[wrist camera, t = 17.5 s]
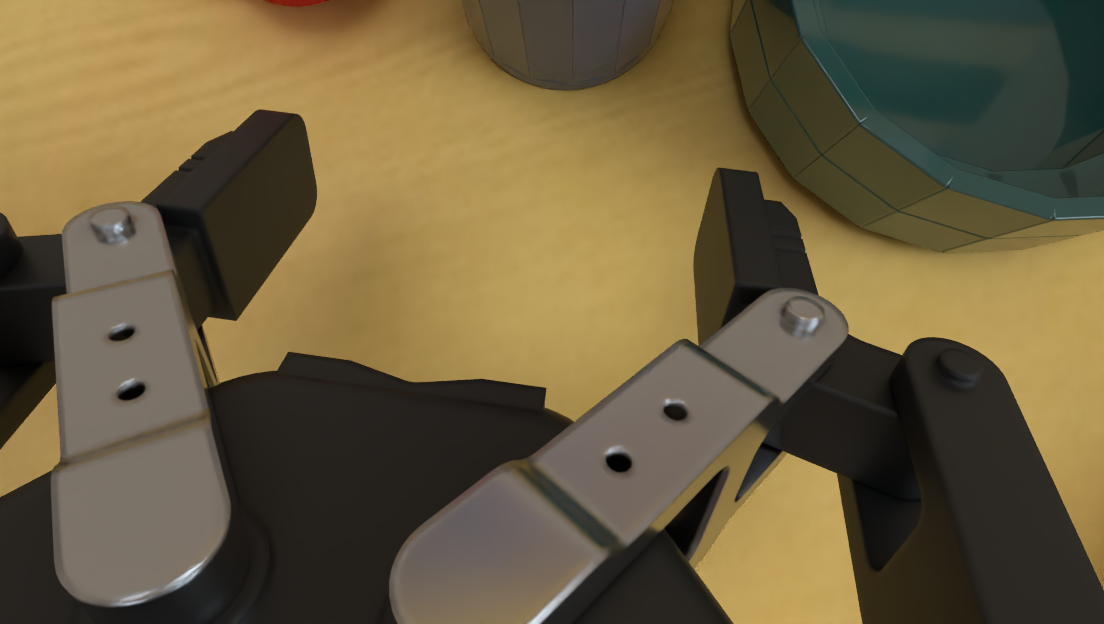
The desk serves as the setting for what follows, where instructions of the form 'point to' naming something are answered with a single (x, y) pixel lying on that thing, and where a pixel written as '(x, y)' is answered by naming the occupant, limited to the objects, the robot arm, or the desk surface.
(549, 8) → the pencil cup
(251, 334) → the desk surface
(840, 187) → the bowl
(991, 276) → the desk surface
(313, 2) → the ball
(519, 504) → the robot arm
